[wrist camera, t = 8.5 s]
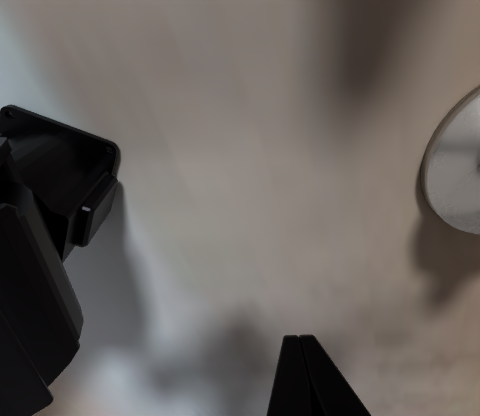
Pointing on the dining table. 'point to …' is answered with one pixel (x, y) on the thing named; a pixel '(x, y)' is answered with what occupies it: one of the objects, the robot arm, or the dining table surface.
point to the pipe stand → (455, 166)
